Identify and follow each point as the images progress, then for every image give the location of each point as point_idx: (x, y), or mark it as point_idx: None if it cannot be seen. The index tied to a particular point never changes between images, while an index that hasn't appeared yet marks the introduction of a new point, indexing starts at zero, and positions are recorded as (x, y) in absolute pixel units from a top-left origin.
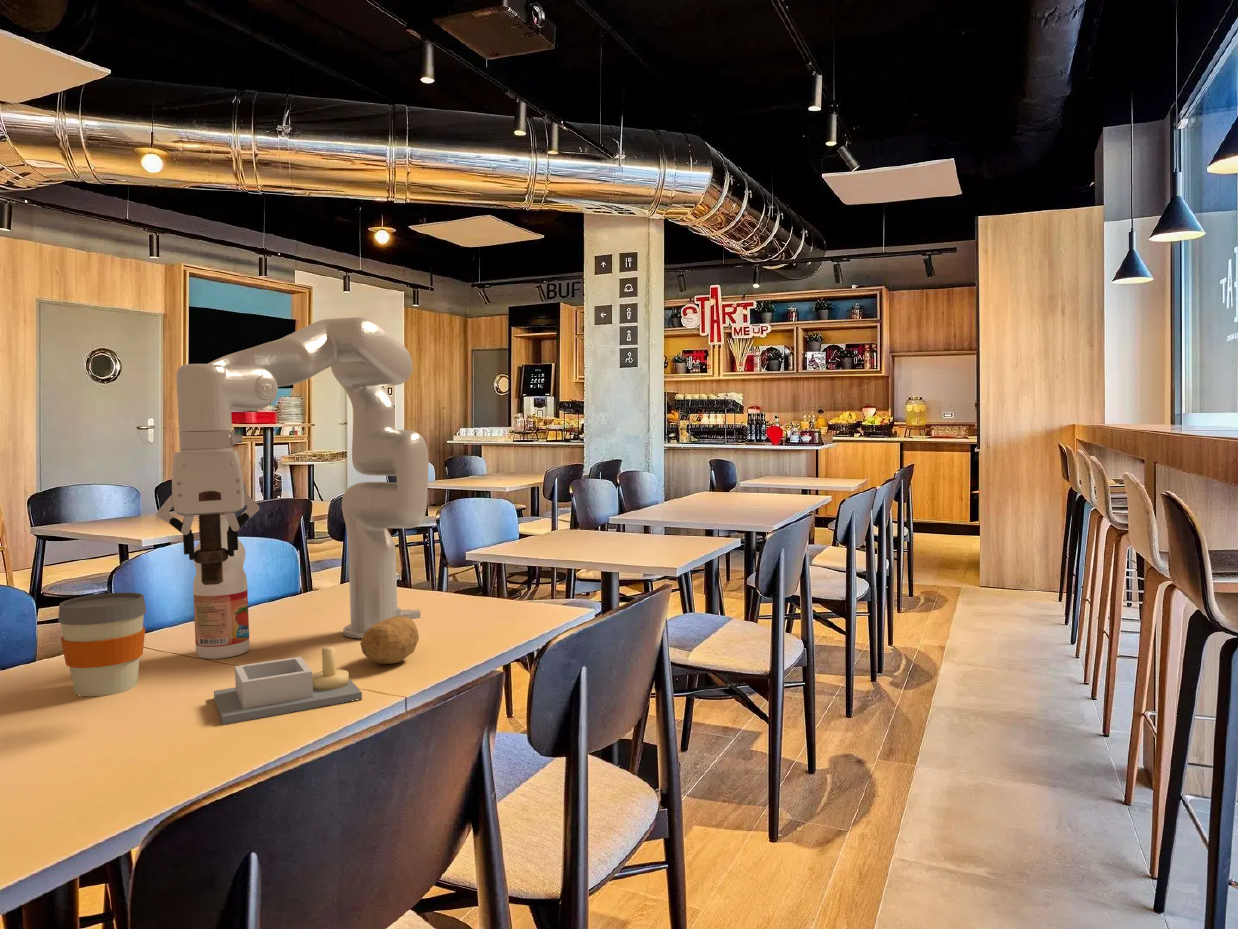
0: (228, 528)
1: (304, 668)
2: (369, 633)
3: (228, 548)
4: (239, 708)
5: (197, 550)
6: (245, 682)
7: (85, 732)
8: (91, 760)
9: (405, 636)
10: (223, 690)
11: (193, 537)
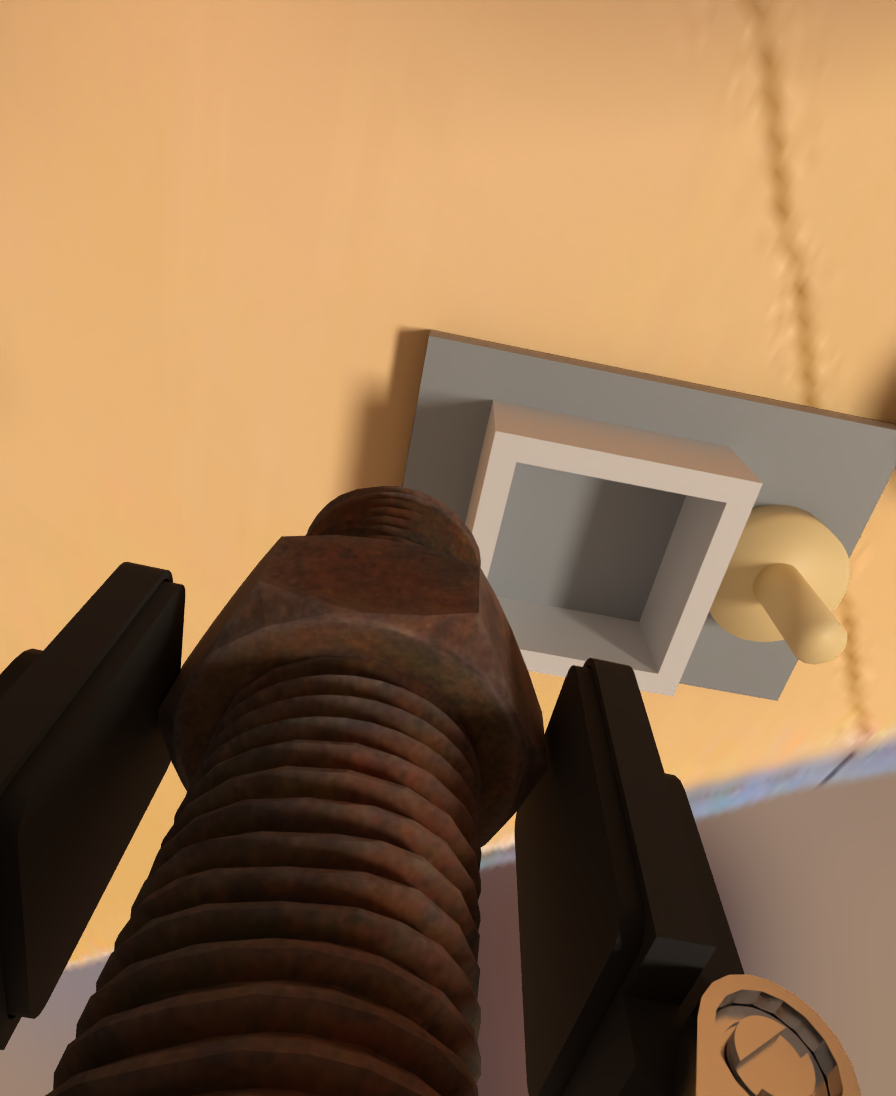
0: (612, 1071)
1: (674, 649)
2: None
3: (533, 845)
4: None
5: (193, 702)
6: None
7: (11, 397)
8: (52, 638)
9: None
10: (459, 360)
11: (46, 996)
